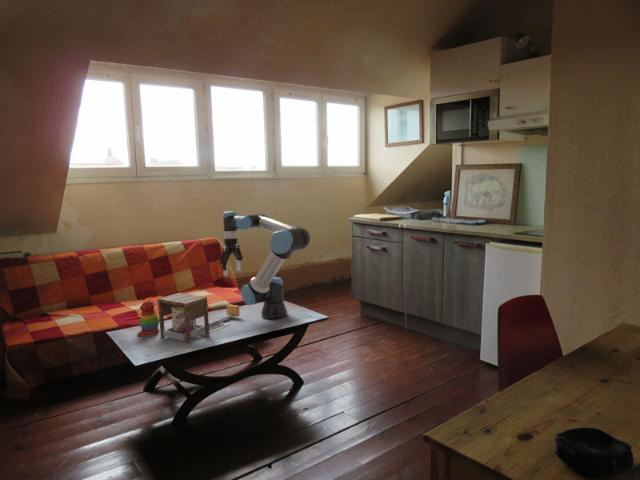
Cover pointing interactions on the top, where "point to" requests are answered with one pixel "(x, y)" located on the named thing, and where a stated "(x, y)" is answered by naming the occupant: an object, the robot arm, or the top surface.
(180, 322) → the candy bar box
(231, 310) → the sled
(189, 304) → the small wooden table
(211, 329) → the pit mat
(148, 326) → the stacking bear
